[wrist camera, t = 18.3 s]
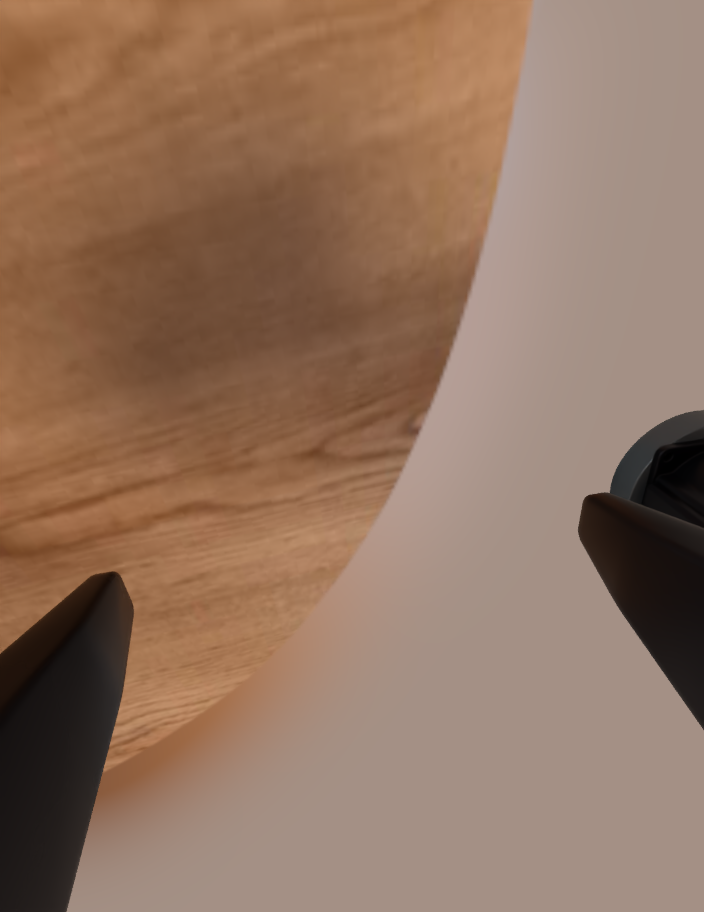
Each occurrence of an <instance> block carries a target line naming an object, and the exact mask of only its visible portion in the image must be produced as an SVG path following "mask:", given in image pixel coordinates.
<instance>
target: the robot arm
mask: <svg viewBox="0 0 704 912" xmlns="http://www.w3.org/2000/svg"><path fill="white" fill-rule="evenodd" d="M666 454H667V455H666ZM665 455H666V456H665ZM578 533H579V537H580V540H581V542H582V544H583V546H584V547H585V549H586V551H587V553H588V555H589V556H590V558H591V560H592V562H593V564H594V566H595V567H596V569H597V571H598V573H599V574H600V576H601V578H602V580H603V582H604V583H605V585H606V587H607V589H608V591H609V593H610V594H611V596H612V598H613V599H614V601H615V603H616V604H617V606H618V607H619V609H620V611H621V612H622V614H623V615H624V617H625V618H626V619H627V621H628V622H629V624H630V625H631V627H632V628H633V629H634V631H635V632H636V634H637V635H638V636H639V638H640V639H641V641H642V642H643V644H644V645H645V646H646V648H647V649H648V651H649V652H650V654H651V655H652V657H653V658H654V659H655V661H656V662H657V664H658V665H659V667H660V668H661V670H662V671H663V672H664V674H665V675H666V677H667V678H668V680H669V681H670V682H671V684H672V685H673V687H674V688H675V690H676V691H677V692H678V694H679V695H680V697H681V698H682V700H683V701H684V702H685V704H686V705H687V707H688V708H689V710H690V711H691V712H692V714H693V715H694V717H695V718H696V720H697V721H698V722H699V724H700V725H701V727H702V728H703V730H704V439H699V440H693V441H686V442H680V443H673V444H667V445H663V446H661V447H659V448H658V449H657V450H656V451H655V453H654V456H653V460H652V464H651V468H650V472H649V476H648V480H647V484H646V488H645V492H644V496H643V500H642V503H641V505H640V504H637V503H635V502H632V501H629V500H627V499H624V498H621V497H619V496H616V495H613V494H610V493H598V494H592V495H588V496H586V497H585V499H584V501H583V504H582V510H581V516H580V521H579V527H578ZM133 617H134V609H133V604H132V601H131V599H130V596H129V594H128V592H127V589H126V587H125V585H124V583H123V580H122V578H121V576H120V575H119V574H118V573H117V572H106V573H100V574H95V575H92V576H91V577H90V578H88V579H87V580H86V581H85V582H84V583H82V584H81V585H80V586H79V587H78V588H77V589H75V590H74V591H73V592H72V593H71V594H70V595H68V596H67V597H66V598H65V599H64V600H63V601H61V602H60V603H59V604H58V605H57V606H56V607H54V608H53V609H52V610H51V611H50V612H49V613H47V614H46V615H45V616H44V617H43V618H42V619H40V620H39V621H38V622H37V623H36V624H35V625H33V626H32V627H31V628H30V629H29V630H28V631H26V632H25V633H24V634H23V635H22V636H21V637H19V638H18V639H17V640H16V641H15V642H14V643H12V644H11V645H10V646H9V647H8V648H7V649H5V650H4V651H3V652H2V653H1V654H0V912H66V911H67V907H68V903H69V900H70V896H71V892H72V888H73V884H74V880H75V877H76V872H77V869H78V865H79V861H80V857H81V853H82V849H83V845H84V842H85V838H86V834H87V830H88V826H89V822H90V819H91V814H92V811H93V807H94V803H95V799H96V795H97V792H98V788H99V784H100V780H101V776H102V772H103V768H104V764H105V761H106V757H107V753H108V749H109V745H110V741H111V737H112V734H113V730H114V726H115V722H116V718H117V714H118V710H119V706H120V702H121V698H122V693H123V687H124V681H125V673H126V666H127V659H128V652H129V645H130V638H131V631H132V624H133Z"/></svg>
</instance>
